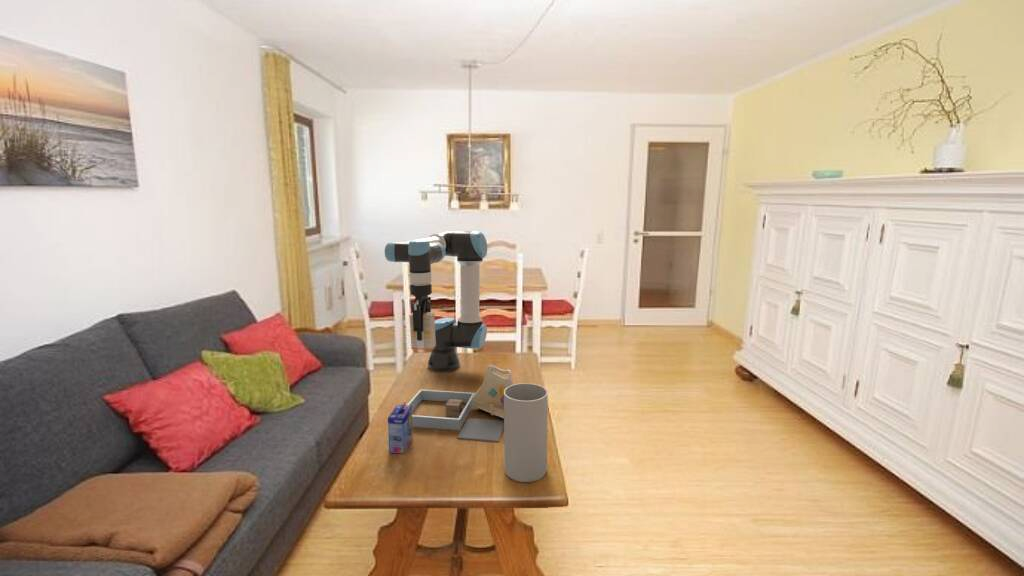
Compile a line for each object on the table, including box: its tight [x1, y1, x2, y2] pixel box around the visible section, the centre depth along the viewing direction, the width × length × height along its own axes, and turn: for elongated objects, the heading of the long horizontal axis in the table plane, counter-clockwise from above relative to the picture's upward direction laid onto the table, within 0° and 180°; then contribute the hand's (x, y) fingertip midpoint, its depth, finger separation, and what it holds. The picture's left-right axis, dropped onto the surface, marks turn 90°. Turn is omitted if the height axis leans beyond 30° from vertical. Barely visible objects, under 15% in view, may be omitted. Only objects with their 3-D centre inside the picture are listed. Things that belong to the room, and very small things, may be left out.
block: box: [445, 399, 464, 418], centre depth 173 cm, size 5×5×5 cm
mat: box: [457, 417, 504, 443], centre depth 161 cm, size 14×14×1 cm
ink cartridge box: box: [387, 402, 413, 454], centre depth 150 cm, size 10×6×14 cm, turn 177°
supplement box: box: [408, 311, 436, 351], centre depth 169 cm, size 8×5×13 cm, turn 84°
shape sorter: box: [472, 364, 514, 419], centre depth 172 cm, size 20×10×18 cm, turn 47°
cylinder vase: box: [503, 382, 549, 483], centre depth 135 cm, size 12×12×25 cm
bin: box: [406, 389, 476, 431], centre depth 174 cm, size 23×23×4 cm
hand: (423, 345), depth 170 cm, fingers closed on supplement box, 5 cm apart
